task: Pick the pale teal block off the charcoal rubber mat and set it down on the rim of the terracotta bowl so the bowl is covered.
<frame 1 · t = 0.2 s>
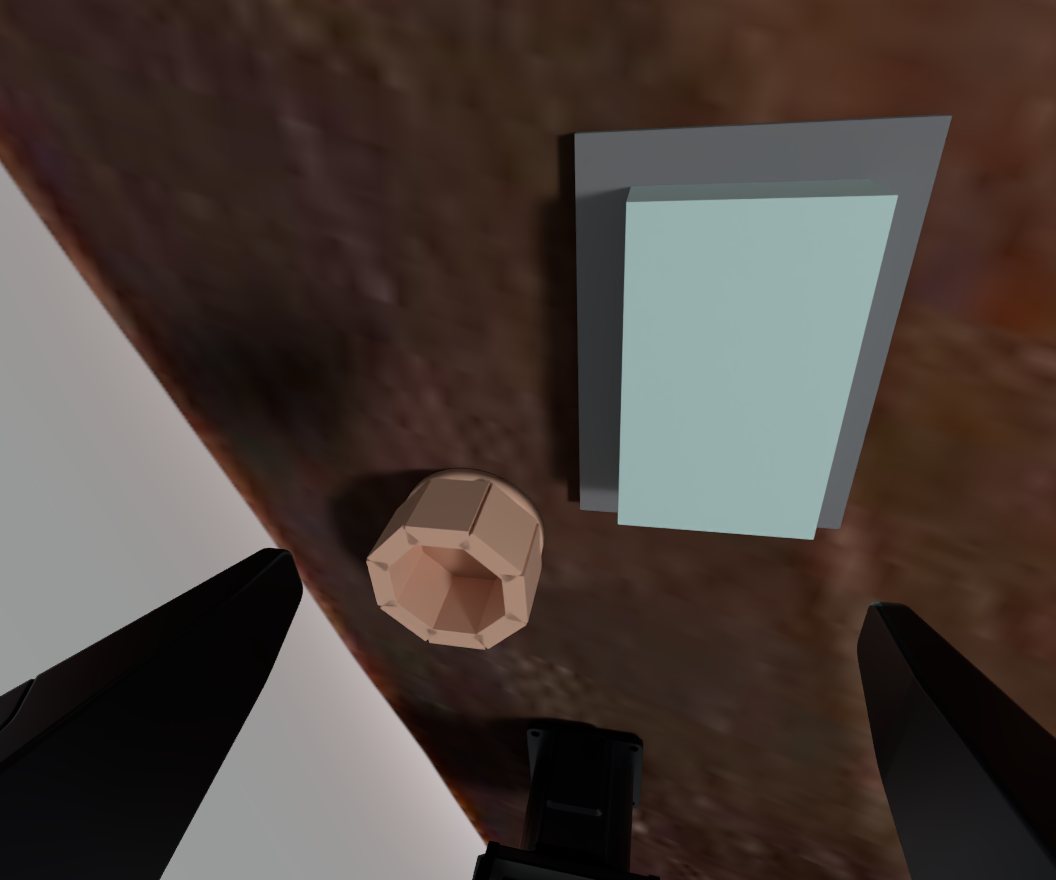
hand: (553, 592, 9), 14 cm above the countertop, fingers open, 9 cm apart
mat: (722, 350, 21), on the countertop
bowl: (473, 528, 27), on the countertop
pale teal block: (724, 357, 20), point 1 cm above the countertop, touching mat
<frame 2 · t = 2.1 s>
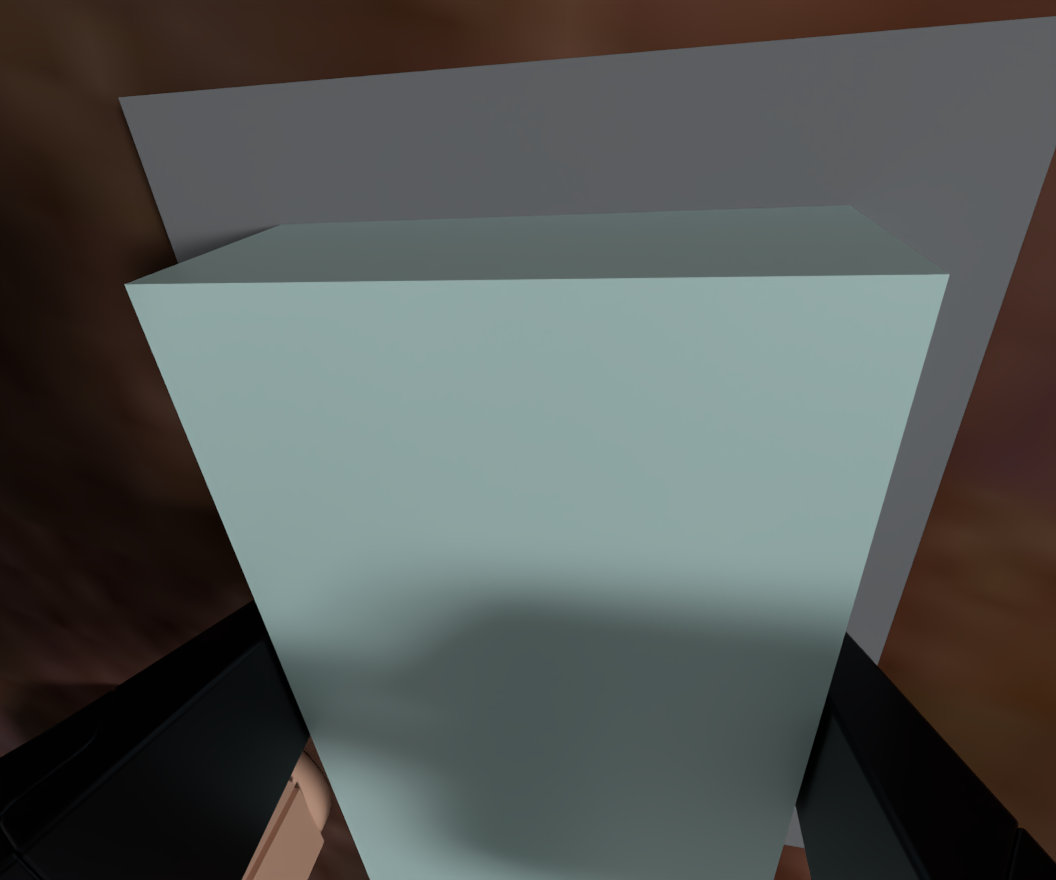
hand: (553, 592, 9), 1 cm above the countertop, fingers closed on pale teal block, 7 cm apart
mat: (563, 548, 10), on the countertop
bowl: (221, 766, 17), on the countertop
pale teal block: (557, 572, 10), point 1 cm above the countertop, touching gripper, mat
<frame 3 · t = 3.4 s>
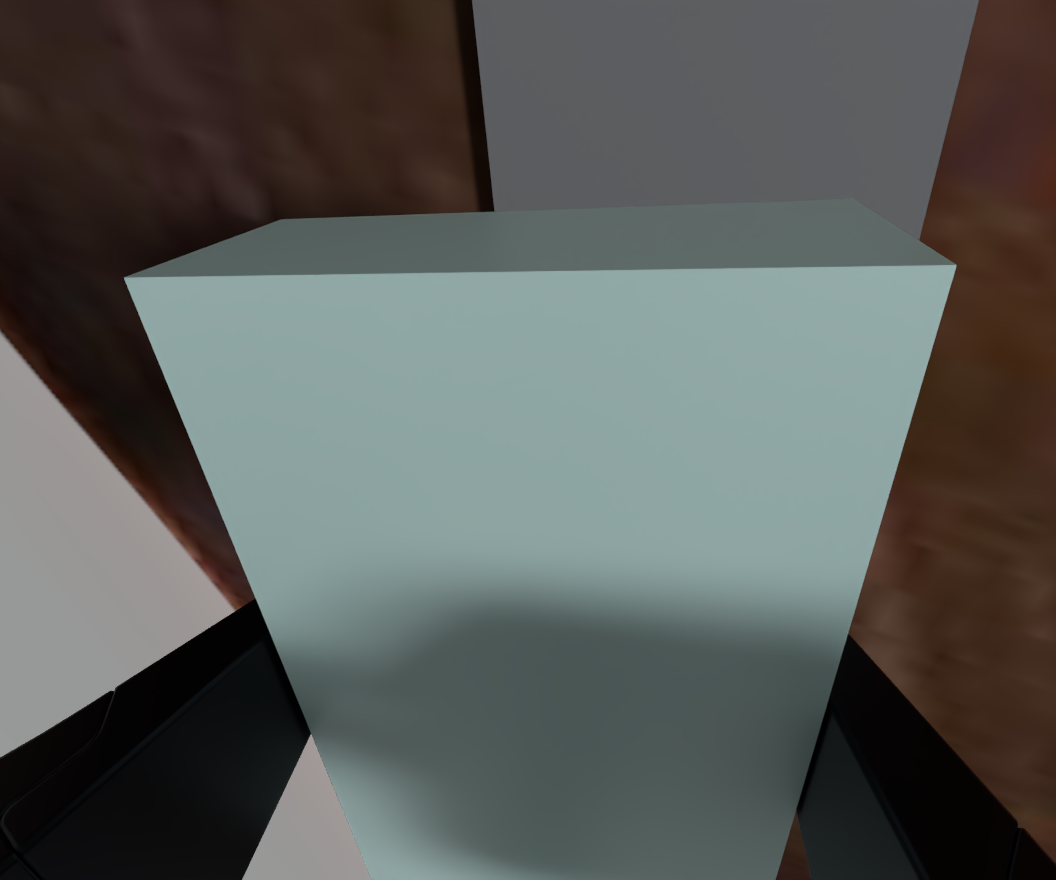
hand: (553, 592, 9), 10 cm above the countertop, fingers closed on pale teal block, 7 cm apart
mat: (692, 264, 16), on the countertop
pale teal block: (559, 570, 10), point 9 cm above the countertop, touching gripper
when the fingers open (6 cm above the countertop, at t = 5.2 s): pale teal block drops 1 cm, resting on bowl.
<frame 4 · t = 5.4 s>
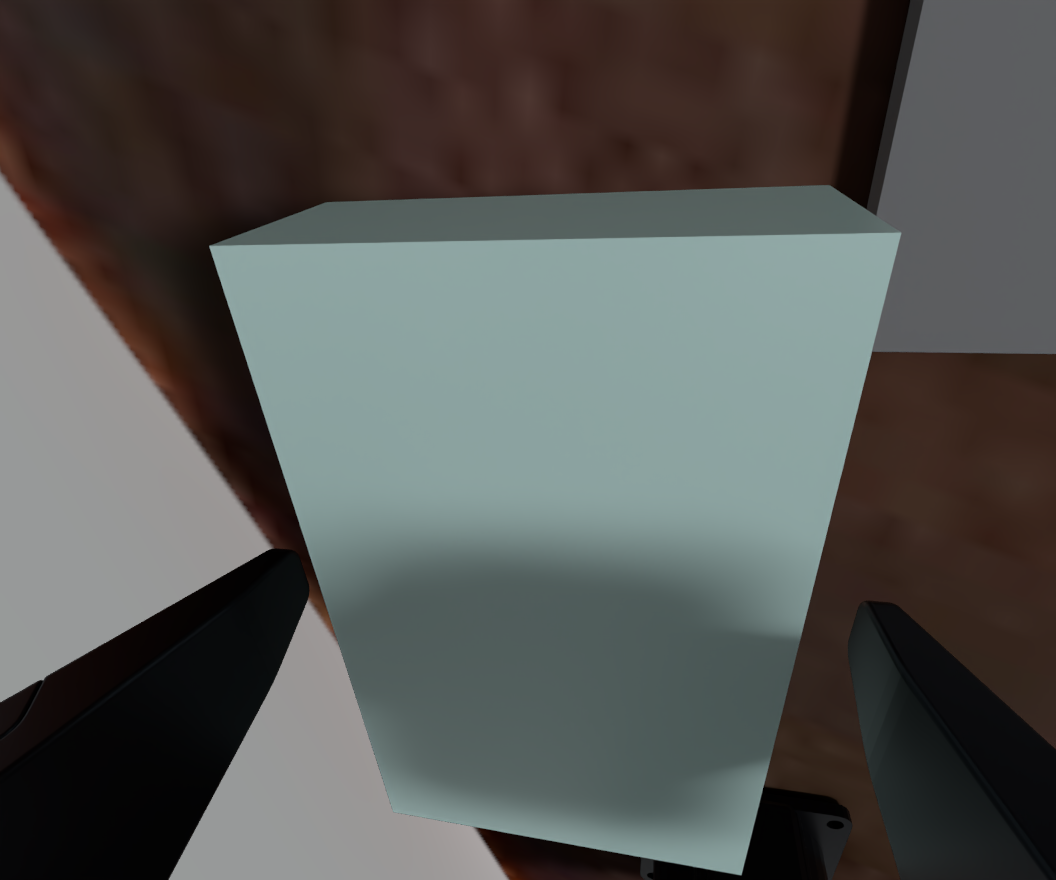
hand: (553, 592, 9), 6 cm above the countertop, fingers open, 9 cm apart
pale teal block: (568, 525, 11), point 4 cm above the countertop, touching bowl
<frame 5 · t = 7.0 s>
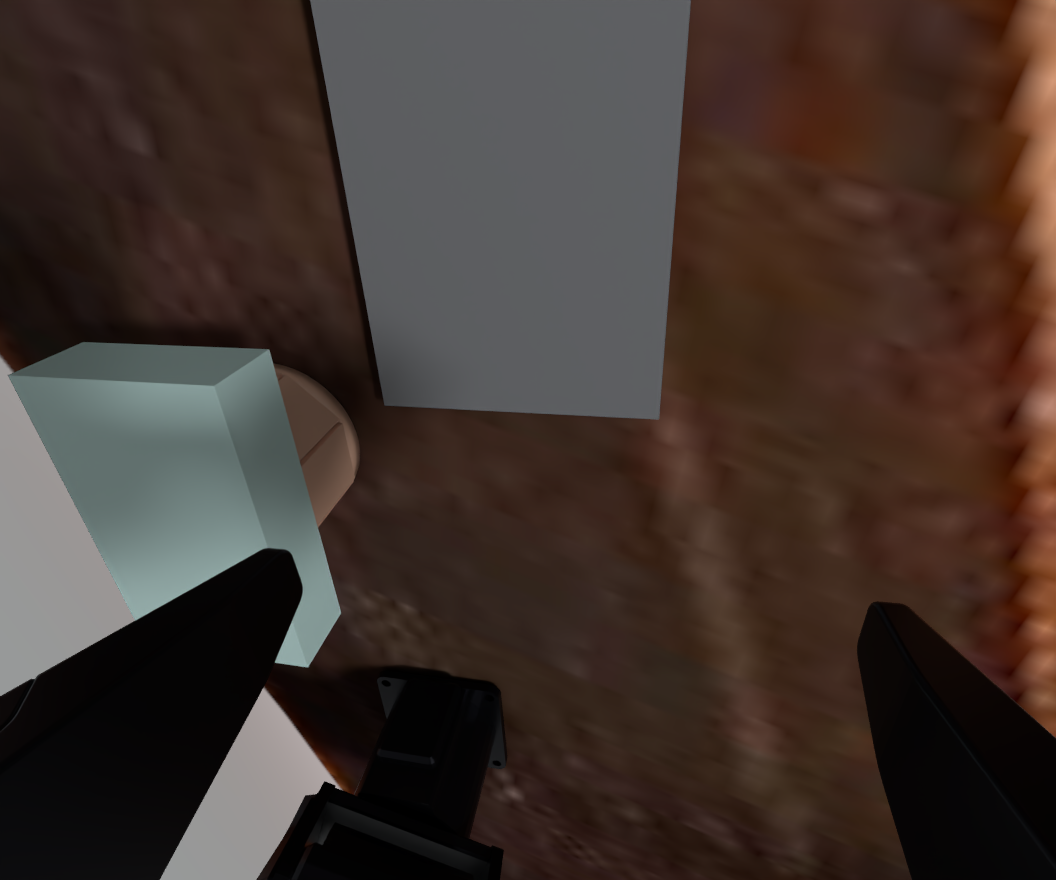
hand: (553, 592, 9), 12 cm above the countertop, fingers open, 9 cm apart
mat: (507, 200, 18), on the countertop
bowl: (284, 436, 25), on the countertop
pale teal block: (225, 491, 21), point 4 cm above the countertop, touching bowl
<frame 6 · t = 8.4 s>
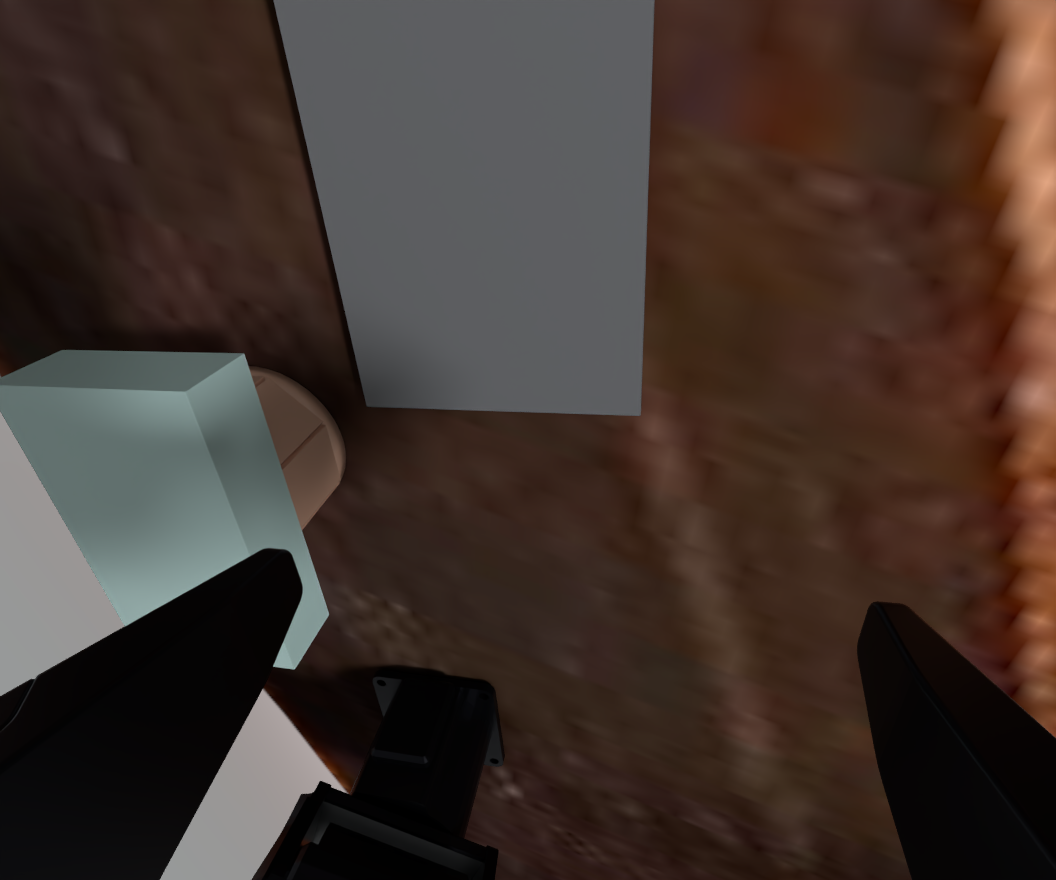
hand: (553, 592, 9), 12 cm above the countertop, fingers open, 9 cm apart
mat: (480, 198, 18), on the countertop
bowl: (270, 439, 25), on the countertop
pale teal block: (209, 495, 21), point 4 cm above the countertop, touching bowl
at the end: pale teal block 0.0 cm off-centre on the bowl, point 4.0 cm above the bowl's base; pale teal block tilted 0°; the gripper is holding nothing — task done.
